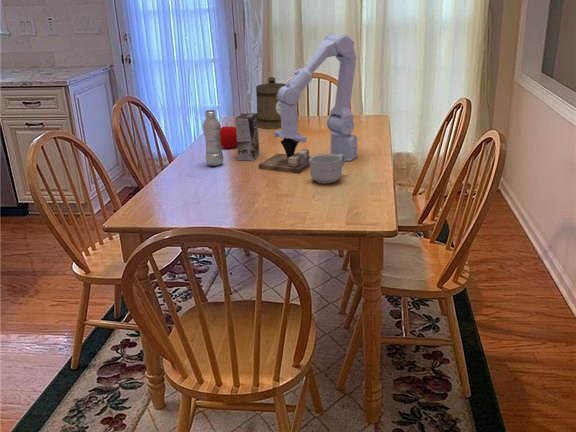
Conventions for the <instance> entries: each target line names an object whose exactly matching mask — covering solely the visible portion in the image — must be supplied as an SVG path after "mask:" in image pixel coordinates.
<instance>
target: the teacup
mask: <svg viewBox="0 0 576 432" xmlns="http://www.w3.org/2000/svg"><path fill="white" fill-rule="evenodd" d="M310 157H311V158H310V159H309V162H310V166H309V171H310V176H311V178H312V179H313V180H314V181H316V183H319V184H332V183H335V182H337V181H338V180H339V179H340V178H341V176H342V174H343V173H342V172H343V167H344V166H345V164H346V162H347V161H346V157H345V156H344V155H343V154H339V155H334V154H331V153H330V154H329V153H326V154H325V153H324V154H318V155H314V156H310Z"/></svg>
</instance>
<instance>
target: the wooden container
mask: <svg viewBox="0 0 576 432" xmlns="http://www.w3.org/2000/svg"><path fill="white" fill-rule="evenodd" d="M267 81H268V82H267V83H262V84H261V83H260V84H258V85H256V87H255V91H256V92H255V93H256V95H255V96H256V113H257V119H258V128H261V129H264V130H266V129H267V130H276V129H277V130H278V129H281V111H280V101H279V100H278V99H277V94H278V91H279V89H280V88H281V87H284V86H286V83H282V82H281V83H278V82H276V78H275V77H274V76H269V77H268V78H267Z"/></svg>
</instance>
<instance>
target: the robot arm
mask: <svg viewBox="0 0 576 432" xmlns="http://www.w3.org/2000/svg"><path fill="white" fill-rule="evenodd" d="M354 46H355V42H354V40H353V39H352V38H351V36H349V35H348V34H336V33H328V34H327V35H326V36H325V37H324V39H322V40H321V41H320V43H319V47H318V48H317V49H316V50H315V52H314V53H313V55H312V56H311V57H310V59H309V60H308V62H307V63H306V64H305V66H304V67H303V68H302V67H301V68H298V69H297V70H294V72H293V73H294V74H293V75H292V77H291V78H290V79H289V80H288V81H286V82H285V84H286V86H284V87H281V88H280V89H279V91H278V94H277V99H278V100H279V101H280V111H281V128H280V130H278V129H277V130H273V137H274V138H280V139H281V140H280V144H281V146H282V147H283V149H284V151H285V154H286V155H287V158H289V157H291V156H292V155H294V154H295V153H296V148H297V146H298V144H299V143H300V144H304V143H307V136H304V135H302V134H300V133H299V132H298V129H299V128H298V127H299V125H298V105H297V104H298V102H299V101H300V98H301V94H302V92H303V91H304V89H306V88H307V87H308V85H309V84H310V82H311V81H312V79H313V76H312V75H313V74H314V72H316V70H317V69H319V67H320V66H321V65H322V64H323V63H324V62H325V61H326V60H327V58H331V57H335V58H336V59H337V60H338V62H339V69H338V76H337V77H338V79H337V85H336V93H335V101H334V107H333V108H331V110H330V111H329V112H330V113H329V116H328V118H327V120H326V126H327V128H328V129H329V132H330V154H334V155H339V154H343V155H344V156H345V157H346V162H352V161H353V160H354V159H356V157H358V155H359V154H358V137H357V136H356V135H355V134H352V133H353V131H354V129H355V123H354V113H353V112H352V110H351V102H352V93H353V86H354V79H355V72H356V71H355V70H356V63H357V55H356V51H355V47H354Z"/></svg>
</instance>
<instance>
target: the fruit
mask: <svg viewBox="0 0 576 432" xmlns="http://www.w3.org/2000/svg"><path fill="white" fill-rule="evenodd" d="M225 124H226V125H225V126H221V127H220V144H221V148H224V149H234V148H235V147H237V134H236V126H228V122H226V123H225Z"/></svg>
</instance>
